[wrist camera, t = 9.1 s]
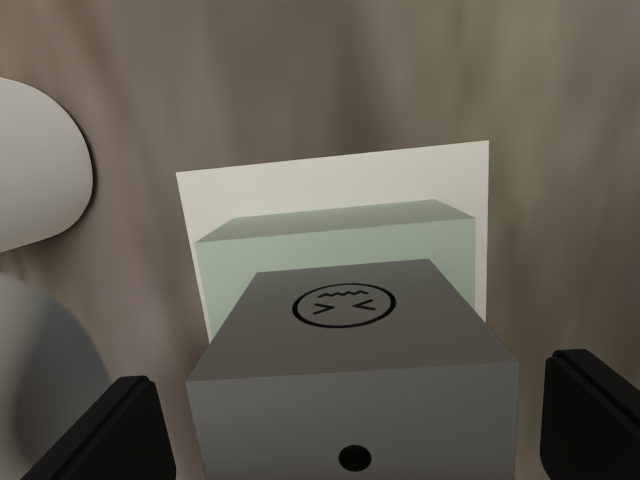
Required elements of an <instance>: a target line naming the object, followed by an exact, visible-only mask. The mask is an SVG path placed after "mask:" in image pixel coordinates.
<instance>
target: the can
mask: <svg viewBox="0 0 640 480" xmlns="http://www.w3.org/2000/svg"><path fill="white" fill-rule="evenodd" d="M92 185H93V175H92V166H91V161H90V156H89V152H88V149H87V146H86V143H85V140H84V138H83V136H82V134H81V132H80V131H79V129H78V127H77V126H76V124H75V123H74V121H73V120H72V119H71V117H70V116H69V115H68V114H67V113H66V111H65V110H64V109H63V108H62V107H61V106H60V105H59V104H57V103H56V102H55V101H54V100H53V99H51V98H50V97H49V96H47V95H46V94H44V93H43V92H41V91H39V90H37V89H35V88H33V87H31V86H28V85H26V84H23V83H20V82H17V81H13V80H9V79H5V78H1V77H0V253H1V252H4V251H8V250H11V249H14V248H17V247H21V246H24V245H27V244H30V243H34V242H37V241H40V240H43V239H46V238H49V237H52V236H55V235H57V234H59V233H61V232H63V231H65V230H67V229H68V228H69V227H71V226H72V225H73V224H74V223H75V222H76V221H77V220H78V219H79V218H80V216H81V215H82V213H83V212H84V210H85V208H86V206H87V204H88V202H89V200H90V197H91V193H92Z"/></svg>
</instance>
